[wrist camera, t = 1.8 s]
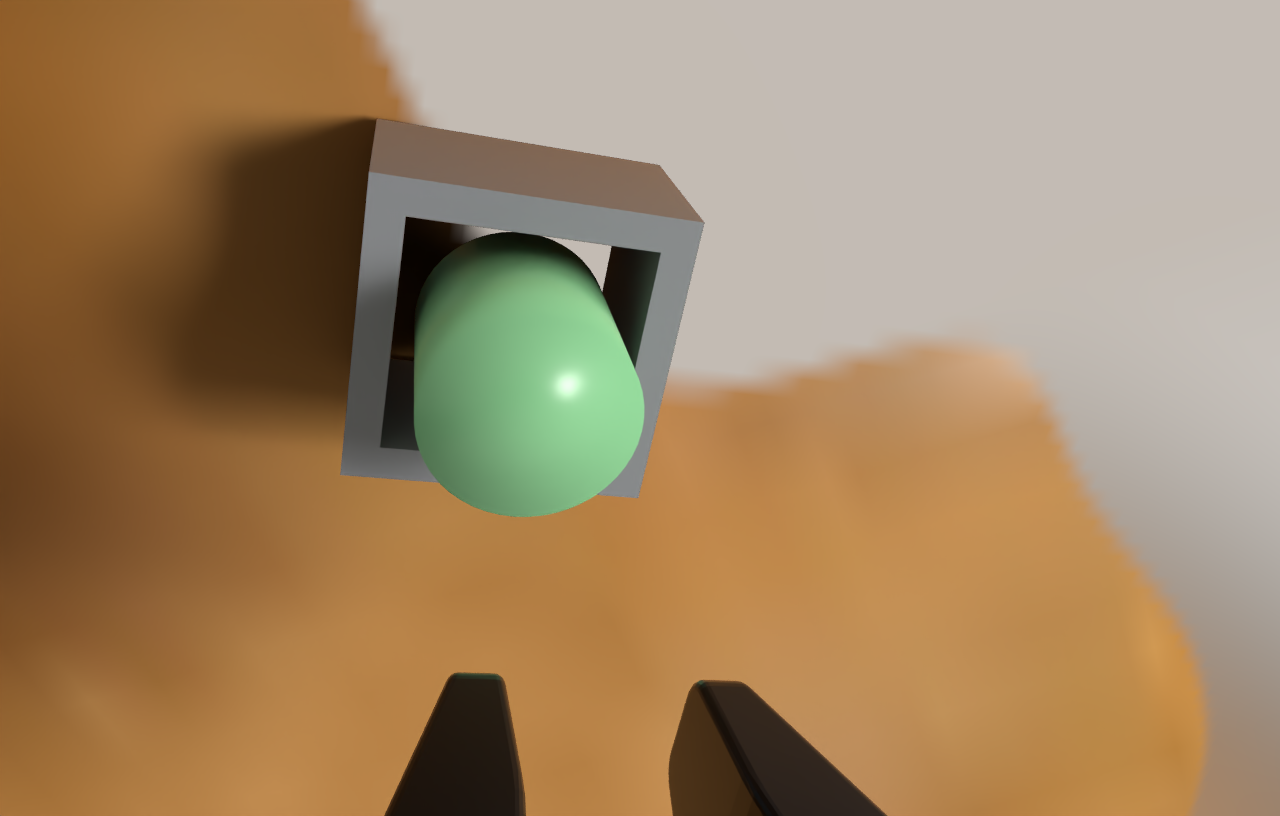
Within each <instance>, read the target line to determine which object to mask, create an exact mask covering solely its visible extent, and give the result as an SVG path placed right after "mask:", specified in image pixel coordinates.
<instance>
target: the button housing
mask: <svg viewBox="0 0 1280 816" xmlns="http://www.w3.org/2000/svg"><path fill="white" fill-rule="evenodd" d="M406 216H407V217H414V218H421V219H428V220H435V221H442V222H449V223H456V224H463V225H470V226H477V227H484V228H491V229H498V230H505V231H512V232H519V233H526V234H533V235H540V236H547V237H554V238H562V239H569V240H575V241H582V242H590V243H597V244H603V245H610V246H612V248H611V252H610V258H609V262H608V267H607V272H606V277H605V282H604V287H603V292H602V293H603V296H604V298H605V300H606V303H607V305H608V307H609V310H610V312H611V314H612V317H613V319H614V322H615V324H616V326H617V329H618V331H619V333H620V336H621V338H622V340H623V343H624V345H625V347H626V350H627V352H628V354H629V357H630V359H631V362H632V364H633V366H634V369H635V371H636V373H637V376H638V378H639V381H640V384H641V388H642V391H643V398H644V422H643V428H642V433H641V436H640V439H639V442H638V445H637V447H636V449H635V451H634V454H633V456H632V457H631V459H630V460H629V462H628V464H627V465H626V467H625V468H624V469H623V470H622V472H621V473H620V474H619V475H618V476H617V478H616V479H614V480H613V481H612V482H611V483H610V484H609V485H608V486H607V487H606V488H605V489H603V490H602V491H601V492H599V493H598V494H597V495H606V496H619V497H632V498H638V497H639V493H640V488H641V484H642V480H643V476H644V472H645V468H646V463H647V459H648V455H649V451H650V447H651V443H652V439H653V434H654V430H655V426H656V422H657V418H658V414H659V409H660V405H661V401H662V397H663V393H664V389H665V385H666V380H667V376H668V372H669V368H670V364H671V360H672V355H673V351H674V346H675V343H676V339H677V334H678V330H679V326H680V322H681V318H682V314H683V310H684V306H685V301H686V297H687V293H688V289H689V285H690V280H691V276H692V272H693V268H694V264H695V260H696V256H697V251H698V247H699V243H700V239H701V235H702V231H703V227H704V222H703V220H702V219H701V218H700V216H699V215H698V214H697V213H696V211H695V210H694V209H693V208H692V206H691V205H690V204H689V202H688V201H687V200H686V199H685V197H684V196H683V195H682V194H681V192H680V191H679V190H678V188H677V187H676V186H675V185H674V183H673V182H672V181H671V179H670V178H669V177H668V176H667V174H666V173H665V172H664V170H663V169H662V168H661V167H660V165H655V164H650V163H643V162H637V161H631V160H625V159H619V158H613V157H606V156H601V155H595V154H589V153H583V152H577V151H570V150H565V149H559V148H552V147H546V146H540V145H534V144H528V143H522V142H516V141H510V140H504V139H497V138H492V137H485V136H479V135H474V134H468V133H462V132H456V131H450V130H444V129H437V128H431V127H425V126H419V125H413V124H407V123H401V122H395V121H389V120H383V119H377V122H376V129H375V135H374V142H373V148H372V155H371V162H370V168H369V177H368V187H367V198H366V209H365V219H364V230H363V240H362V251H361V262H360V272H359V283H358V293H357V304H356V315H355V325H354V336H353V347H352V357H351V368H350V378H349V389H348V400H347V410H346V421H345V431H344V442H343V453H342V463H341V474H340V475H348V476H361V477H374V478H387V479H399V480H412V481H425V482H438V481H437V479H436V478H435V477H434V476H433V475H432V473H431V472H430V470H429V469H428V467H427V466H426V464H425V462H424V460H423V458H422V456H421V453H420V451H419V448H418V445H417V441H416V437H415V428H414V361H407V360H398V359H390V353H391V344H392V335H393V326H394V317H395V308H396V299H397V290H398V281H399V273H400V264H401V255H402V246H403V237H404V228H405V219H406ZM438 483H439V482H438Z"/></svg>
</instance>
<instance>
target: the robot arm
mask: <svg viewBox="0 0 1280 816" xmlns="http://www.w3.org/2000/svg"><path fill="white" fill-rule="evenodd" d="M669 789H670V796H671V804H672V812H673V816H887V815H886V814H885V813H884V812H883V811H882V810H881V809H880V808H879V807H877V806H876V805H875V804H874V803H873V802H872V801H871V800H870V799H869V798H868V797H867V796H866V795H865V794H864V793H862V792H861V791H860V790H859V789H858V788H857V787H856V786H855V785H854V784H853V783H852V782H851V781H850V780H849V779H847V778H846V777H845V776H844V775H843V774H842V773H841V772H840V771H839V770H838V769H837V768H836V767H835V766H834V765H832V764H831V763H830V762H829V761H828V760H827V759H826V758H825V757H824V756H823V755H822V754H821V753H820V752H819V751H817V750H816V749H815V748H814V747H813V746H812V745H811V744H810V743H809V742H808V741H807V740H806V739H805V738H804V737H802V736H801V735H800V734H799V733H798V732H797V731H796V730H795V729H794V728H793V727H792V726H791V725H790V724H789V723H787V722H786V721H785V720H784V719H783V718H782V717H781V716H780V715H779V714H778V713H777V712H776V711H775V710H774V709H772V708H771V707H770V706H769V705H768V704H767V703H766V702H765V701H764V700H763V699H762V698H761V697H760V696H759V695H757V694H756V693H755V692H754V691H753V690H752V689H751V688H750V687H748V686H747V685H746V684H744V683H742V682H738V681H719V680H701V681H698V682H696V683H695V684H694V685H693V686H692V688H691V689H690V691H689V693H688V696H687V699H686V703H685V706H684V710H683V713H682V717H681V720H680V723H679V727H678V730H677V734H676V737H675V740H674V744H673V747H672V751H671V755H670V761H669ZM384 816H526V809H525V792H524V785H523V779H522V772H521V767H520V761H519V756H518V750H517V745H516V739H515V734H514V728H513V723H512V717H511V712H510V707H509V701H508V696H507V690H506V685H505V682H504V680H503V678H502V677H501V676H499V675H498V674H491V673H454V674H452V675H451V676H450V677H449V678H448V679H447V681H446V683H445V686H444V688H443V690H442V692H441V694H440V696H439V699H438V701H437V703H436V705H435V707H434V709H433V712H432V714H431V716H430V718H429V720H428V722H427V725H426V727H425V729H424V731H423V733H422V735H421V737H420V740H419V742H418V744H417V746H416V748H415V750H414V753H413V755H412V757H411V759H410V761H409V763H408V766H407V768H406V770H405V772H404V774H403V776H402V779H401V781H400V783H399V785H398V787H397V789H396V792H395V794H394V796H393V798H392V800H391V802H390V804H389V807H388V809H387V811H386V813H385V815H384Z"/></svg>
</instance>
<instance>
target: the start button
mask: <svg viewBox="0 0 1280 816" xmlns="http://www.w3.org/2000/svg"><path fill="white" fill-rule="evenodd" d="M643 422H644V398H643V391H642V388H641V384H640V381H639V378H638V376H637V373H636V371H635V369H634V366H633V364H632V362H631V359H630V357H629V354H628V352H627V350H626V347H625V345H624V343H623V340H622V338H621V336H620V333H619V331H618V329H617V326H616V324H615V322H614V319H613V317H612V314H611V312H610V310H609V307H608V305H607V303H606V300H605V298H604V296H603V293H602V291H601V289H600V286H599V284H598V282H597V280H596V278H595V277H594V275H593V273H592V272H591V270H590V269H589V268H588V267H587V265H586V264H585V263H584V262H583V261H582V260H581V259H580V258H579V257H578V256H577V255H576V254H575V253H573V252H572V251H571V250H569V249H568V248H566V247H565V246H563V245H561V244H559V243H557V242H555V241H553V240H551V239H548V238H545V237H543V236H540V235H533V234H526V233H519V232H501V233H495V234H489V235H486V236H482V237H479V238H476V239H473V240H471V241H469V242H467V243H465V244H463V245H461V246H460V247H458V248H456V249H455V250H453V251H452V252H451V253H449V254H448V255H447V256H446V257H444V258H443V259H442V260H441V261H440V262H439V263H438V264H437V266H436V267H435V268H434V269H433V270H432V272H431V273H430V275H429V276H428V277H427V279H426V281H425V283H424V285H423V287H422V289H421V291H420V294H419V297H418V300H417V305H416V310H415V323H414V428H415V437H416V441H417V445H418V448H419V451H420V453H421V456H422V458H423V460H424V462H425V464H426V466H427V467H428V469H429V470H430V472H431V473H432V475H433V476H434V477H435V478H436V479H437V481H438V482H439V483H440V484H441V485H442V486H443V487H444V488H445V489H447V490H448V491H449V492H450V493H451V494H453V495H454V496H456V497H457V498H459V499H460V500H462V501H464V502H465V503H467V504H469V505H471V506H473V507H476V508H479V509H481V510H484V511H487V512H491V513H495V514H499V515H506V516H514V517H531V516H542V515H547V514H552V513H557V512H560V511H563V510H566V509H569V508H572V507H574V506H576V505H579V504H581V503H583V502H585V501H587V500H588V499H590V498H592V497H593V496H595V495H597V494H598V493H599V492H601V491H602V490H603V489H605V488H606V487H607V486H608V485H609V484H610V483H611V482H612V481H613V480H614V479H616V478H617V476H618V475H619V474H620V473H621V472H622V470H623V469H624V468H625V467H626V465H627V464H628V462H629V460H630V459H631V457H632V456H633V454H634V451H635V449H636V447H637V445H638V442H639V439H640V436H641V433H642V428H643Z"/></svg>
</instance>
